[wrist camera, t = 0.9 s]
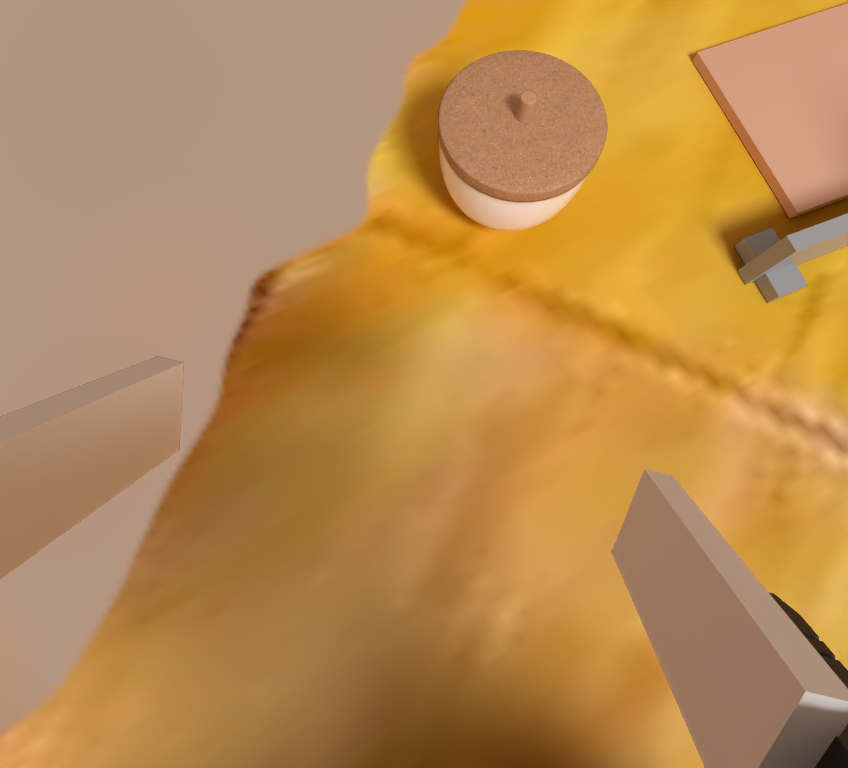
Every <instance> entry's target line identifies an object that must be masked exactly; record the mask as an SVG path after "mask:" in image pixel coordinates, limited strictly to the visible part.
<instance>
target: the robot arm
mask: <svg viewBox="0 0 848 768" xmlns="http://www.w3.org/2000/svg"><path fill="white" fill-rule="evenodd" d="M182 384H183V362H179V361H175V360H171V359H166V358H162V357H158V356H157V357H155V358H152V359H150V360H147V361H144V362H142V363H139V364H137V365H134V366H131V367H129V368H126V369H124V370H121V371H118V372H116V373H113V374H110V375H108V376H105V377H103V378H100V379H97V380H95V381H92V382H89V383H87V384H85V385H82V386H79V387H76V388H74V389H71V390H69V391H66V392H63V393H61V394H58V395H55V396H53V397H50V398H48V399H45V400H42V401H40V402H37V403H35V404H32V405H29V406H27V407H24V408H22V409H19V410H16V411H14V412H11V413H9V414H6V415H3V416H1V417H0V579H1V578H2V577H4V576H5V575H7V574H8V573H9V572H10V571H12V570H13V569H15V568H16V567H17V566H19V565H20V564H22V563H23V562H24V561H26V560H27V559H29V558H30V557H31V556H33V555H34V554H35V553H37V552H38V551H40V550H41V549H42V548H44V547H45V546H47V545H48V544H49V543H51V542H52V541H53V540H55V539H56V538H57V537H59V536H60V535H62V534H63V533H64V532H66V531H67V530H69V529H70V528H71V527H72V526H74V525H75V524H77V523H78V522H79V521H81V520H82V519H84V518H85V517H86V516H88V515H89V514H91V513H92V512H93V511H95V510H96V509H97V508H99V507H100V506H102V505H103V504H104V503H106V502H107V501H108V500H110V499H111V498H113V497H114V496H115V495H117V494H118V493H120V492H121V491H122V490H124V489H125V488H127V487H128V486H129V485H131V484H132V483H133V482H135V481H136V480H137V479H139V478H140V477H142V476H143V475H144V474H146V473H147V472H149V471H150V470H151V469H153V468H154V467H155V466H157V465H158V464H159V463H161V462H162V461H163V460H165V459H167V458H168V457H169V456H171V455H172V454H173V453H175V452H176V451H178V450H179V448H180V427H181V405H182ZM612 554H613V556H614V559H615V561H616V563H617V566H618V568H619V570H620V573H621V575H622V577H623V579H624V582H625V584H626V586H627V589H628V591H629V593H630V596H631V598H632V600H633V603H634V605H635V607H636V609H637V612H638V614H639V616H640V619H641V621H642V623H643V626H644V628H645V630H646V633H647V635H648V637H649V639H650V642H651V644H652V646H653V649H654V651H655V653H656V656H657V658H658V660H659V663H660V665H661V667H662V669H663V672H664V674H665V676H666V679H667V681H668V683H669V686H670V688H671V690H672V693H673V695H674V697H675V700H676V702H677V704H678V706H679V709H680V711H681V713H682V716H683V718H684V720H685V723H686V725H687V727H688V730H689V732H690V734H691V736H692V739H693V741H694V743H695V746H696V748H697V750H698V753H699V755H700V757H701V760H702V762H703V764H704V766H705V768H848V670H847V669H846V668H845V667H844V666H843V665H842V663H841V662H840V661H838V660H835V655H834V654H833V653H832V652H831V651H830V649H829V648H828V647H827V646H826V645H825V644H824V642H822V641H819V637H818V635H817V634H816V633H815V632H814V631H813V630H812V628H811V627H810V626H809V625H808V624H807V623H806V621H805V620H804V619H803V618H802V617H801V616H800V615H799V614H798V613H797V612H796V611H794V610H793V609H792V608H791V607H790V606H788V605H787V604H786V603H785V602H783V601H782V600H781V599H780V598H778V597H777V596H776V595H775V594H773V593H769V592H768V591H767V590H766V589H765V588H764V586H763V585H762V584H761V583H760V582H759V580H758V579H757V578H756V577H755V575H754V574H753V573H752V572H751V571H750V569H749V568H748V567H747V566H746V565H745V563H744V562H743V561H742V560H741V558H740V557H739V556H738V555H737V554H736V552H735V551H734V550H733V549H732V548H731V546H730V545H729V544H728V543H727V541H726V540H725V539H724V538H723V537H722V535H721V534H720V533H719V532H718V531H717V529H716V528H715V527H714V526H713V524H712V523H711V522H710V521H709V520H708V518H707V517H706V516H705V515H704V514H703V512H702V511H701V510H700V509H699V507H698V506H697V505H696V504H695V503H694V501H693V500H692V499H691V498H690V497H689V495H688V494H687V493H686V492H685V490H684V489H683V488H682V487H681V486H680V484H679V483H678V482H677V481H676V479H675V478H674V477H673V476H671V475H667V474H663V473H658V472H654V471H650V470H645V469H644V472H643V474H642V477H641V480H640V482H639V485H638V487H637V490H636V492H635V495H634V497H633V500H632V502H631V505H630V507H629V510H628V512H627V515H626V517H625V520H624V522H623V525H622V527H621V530H620V532H619V535H618V537H617V540H616V542H615V545H614V547H613V550H612Z"/></svg>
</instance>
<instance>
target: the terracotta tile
mask: <svg viewBox="0 0 848 768" xmlns="http://www.w3.org/2000/svg"><path fill="white" fill-rule="evenodd" d="M692 61H693V63H694V65H695V66H696V68H697V69H698V71H699V73H700V74H701V76H702V78H703V79H704V81H705V82H706V84H707V86H708V87H709V89H710V90H711V92H712V94H713V95H714V97H715V99H716V100H717V102H718V103H719V105H720V107H721V108H722V110H723V112H724V113H725V115H726V116H727V118H728V120H729V121H730V123H731V124H732V126H733V128H734V129H735V131H736V133H737V134H738V136H739V137H740V139H741V141H742V142H743V144H744V145H745V147H746V149H747V150H748V152H749V154H750V155H751V157H752V158H753V160H754V162H755V163H756V165H757V167H758V168H759V170H760V171H761V173H762V175H763V176H764V178H765V179H766V181H767V183H768V184H769V186H770V188H771V189H772V191H773V192H774V194H775V196H776V197H777V199H778V201H779V202H780V204H781V205H782V207H783V209H784V210H785V212H786V213H787V215H788V217H789V218H790V219H791V218H793V217H796V216H799V215H802V214H804V213H807V212H810V211H812V210H815V209H818V208H821V207H823V206H826V205H829V204H832V203H834V202H837V201H840V200H842V199H845V198H848V3H846V4H843V5H840V6H837V7H834V8H831V9H828V10H825V11H822V12H819V13H816V14H813V15H810V16H807V17H804V18H801V19H797V20H794V21H791V22H788V23H785V24H782V25H779V26H776V27H773V28H770V29H767V30H764V31H761V32H758V33H755V34H752V35H749V36H745V37H742V38H739V39H736V40H733V41H730V42H727V43H724V44H721V45H718V46H715V47H712V48H709V49H706V50H703V51H700V52H697V54H696V55H695V57H694V59H693V60H692Z"/></svg>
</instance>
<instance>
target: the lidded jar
mask: <svg viewBox="0 0 848 768" xmlns="http://www.w3.org/2000/svg"><path fill="white" fill-rule="evenodd" d="M438 137H439V158H440V165H441V170H442V175H443V179H444V182H445V185H446V187H447V190H448V192H449V194H450V195H451V197H452V199H453V200H454V202H455V204H456V205H457V206H458V207H459V208H460V210H461V211H462V212H463V213H464V214H466V215H467V216H468V217H469V218H471V219H472V220H474V221H475V222H477V223H478V224H481V225H483V226H485V227H488V228H491V229H495V230H501V231H518V230H525V229H528V228H532V227H535V226H537V225H539V224H541V223H543V222H545V221H547V220H549V219H550V218H552V217H553V216H554V215H556V214H557V213H558V212H559V211H560V210H561V209H562V208H563V207H564V206H565V205H567V204H568V203H569V202H570V200H571V199H572V198H573V197H574V195H575V194H576V193H577V191H578V190H579V188H580V187H581V186H582V184H583V182H584V181H585V179H586V177H587V175H588V174H589V173H590V171H591V170H592V169H593V167H594V166H595V164H596V162H597V160H598V158H599V156H600V154H601V152H602V150H603V148H604V145H605V141H606V137H607V117H606V112H605V109H604V105H603V102H602V100H601V98H600V96H599V94H598V92H597V91H596V89H595V88H594V86H593V85H592V83H591V82H590V81H589V80H588V79H587V78H586V77H585V76H584V75H583V74H582V73H581V72H579V71H578V70H577V69H576V68H574V67H573V66H571V65H570V64H568V63H566V62H564V61H562V60H560V59H558V58H555V57H553V56H551V55H547V54H543V53H539V52H533V51H526V50H522V51H505V52H499V53H495V54H492V55H488V56H486V57H483V58H481V59H479V60H477V61H475V62H473V63H472V64H470V65H469V66H467V67H466V68H465V69H463V70H462V71H461V72H460V73H459V74H457V76H456V77H455V78H454V79H453V80H452V81H451V83H450V84H449V86H448V87H447V89H446V91H445V92H444V95H443V97H442V100H441V103H440V107H439V113H438Z"/></svg>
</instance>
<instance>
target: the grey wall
mask: <svg viewBox="0 0 848 768" xmlns="http://www.w3.org/2000/svg"><path fill="white" fill-rule="evenodd" d="M846 246H848V213H847V214H844V215H841V216H839V217H836V218H833V219H831V220H828V221H825V222H823V223H820V224H817V225H814V226H812V227H809V228H806V229H804V230H801V231H798V232H795V233H793V234H790V235H787V236H786V237H784V238H783V239H781V240H780V238H779V237H778V235H777V234H776V232H775V230H774V229H773V227H772V228H770V229H767V230H764V231H761V232H759V233H756V234H753V235H751V236H748V237H745V238H744V239H742V240H741V241H740V242H738V243H737V244H736V245H735V248H736V250H737V252H738V253H739V255H740V257H741V258H742V260H743V262H744V264H745V266H743V267H742V268H740V269H739V270H737V271H738V273H739V274H740V276H741V278H742V280H743V281H744V283H745V284H748V283H750V282H753V281H755V283H756V284H757V286H758V288H759V289H760V291H761V293H762V295H763V296H764V298H765V300H766V302H767V303H768V302H771V301H774V300H776V299H779V298H782V297H784V296H787V295H789V294H792V293H795V292H797V291H799V290H800V289H802V288H804V287H806V286H808V285H807V283H806V281H805V280H804V278H803V276H802V275H801V273H800V271H799V270H798V268H797V267H796V265H798V264H801V263H803V262H806V261H809V260H811V259H814V258H817V257H819V256H822V255H825V254H827V253H830V252H833V251H835V250H838V249H841V248H843V247H846Z"/></svg>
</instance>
